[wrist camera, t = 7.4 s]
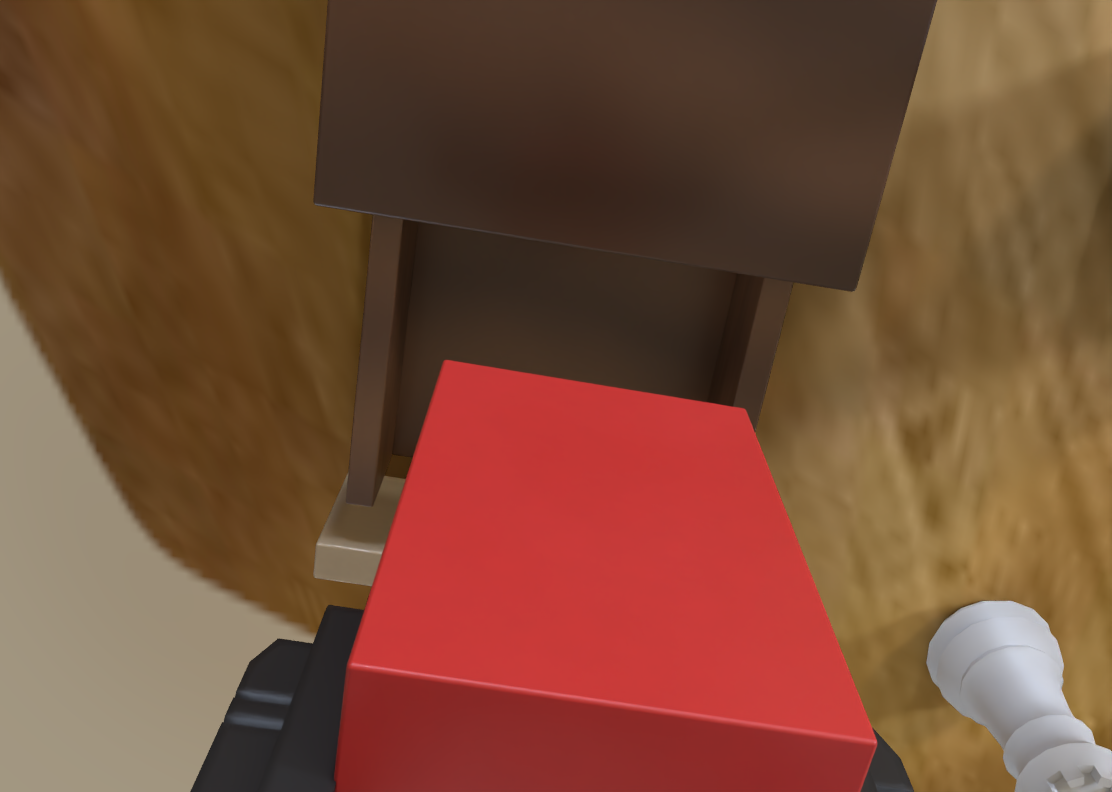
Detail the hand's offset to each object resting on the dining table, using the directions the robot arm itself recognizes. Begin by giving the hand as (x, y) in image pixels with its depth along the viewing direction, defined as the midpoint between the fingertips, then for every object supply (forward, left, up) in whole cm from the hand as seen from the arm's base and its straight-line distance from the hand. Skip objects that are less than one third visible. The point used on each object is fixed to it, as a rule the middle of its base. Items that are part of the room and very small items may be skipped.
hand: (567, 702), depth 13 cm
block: (0, 0, -5) cm, 5 cm away
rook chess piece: (+17, -11, -21) cm, 29 cm away
